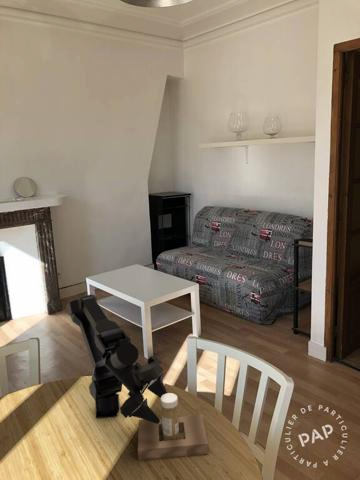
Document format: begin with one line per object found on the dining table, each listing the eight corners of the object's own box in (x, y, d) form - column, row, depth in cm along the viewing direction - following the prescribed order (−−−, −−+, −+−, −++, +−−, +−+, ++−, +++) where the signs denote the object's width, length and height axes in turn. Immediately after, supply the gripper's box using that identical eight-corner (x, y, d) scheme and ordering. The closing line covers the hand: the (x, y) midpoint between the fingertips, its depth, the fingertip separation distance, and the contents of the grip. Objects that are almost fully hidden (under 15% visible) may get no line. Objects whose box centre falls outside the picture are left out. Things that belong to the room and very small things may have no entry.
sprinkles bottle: (182, 442, 112) (180, 398, 109) (168, 449, 110) (165, 404, 107) (174, 433, 116) (171, 390, 113) (159, 439, 114) (157, 396, 111)
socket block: (138, 460, 107) (137, 450, 106) (139, 429, 118) (138, 420, 118) (208, 453, 108) (207, 443, 107) (202, 424, 120) (202, 414, 119)
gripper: (128, 371, 101) (173, 417, 101) (154, 337, 119) (193, 377, 118) (101, 395, 105) (144, 440, 105) (131, 359, 123) (168, 398, 122)
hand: (164, 411), depth 112 cm, fingers open, 9 cm apart
